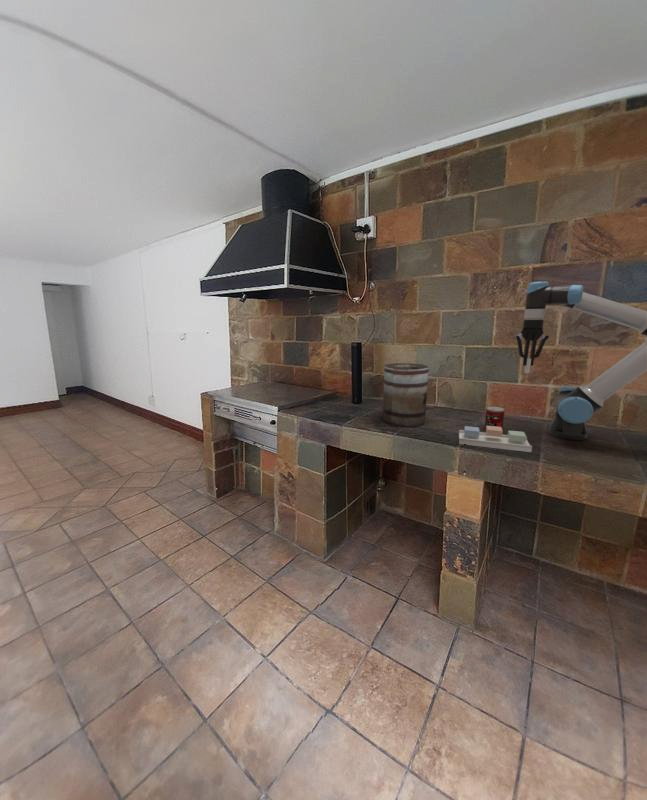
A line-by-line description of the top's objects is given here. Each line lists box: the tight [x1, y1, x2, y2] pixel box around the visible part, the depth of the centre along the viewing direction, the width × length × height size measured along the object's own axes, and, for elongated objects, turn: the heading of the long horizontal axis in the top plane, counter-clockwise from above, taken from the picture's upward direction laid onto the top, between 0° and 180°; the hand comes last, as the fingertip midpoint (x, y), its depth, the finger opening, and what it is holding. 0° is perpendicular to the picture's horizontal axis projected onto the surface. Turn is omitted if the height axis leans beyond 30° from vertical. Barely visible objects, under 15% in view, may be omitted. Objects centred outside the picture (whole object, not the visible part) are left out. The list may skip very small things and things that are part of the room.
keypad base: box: [458, 429, 533, 453], centre depth 150 cm, size 28×12×3 cm, turn 69°
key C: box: [463, 425, 481, 437], centre depth 152 cm, size 6×6×3 cm
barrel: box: [382, 362, 430, 429], centre depth 179 cm, size 22×22×30 cm
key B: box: [485, 426, 504, 437], centre depth 149 cm, size 6×6×3 cm
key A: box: [507, 430, 527, 442], centre depth 146 cm, size 6×6×3 cm
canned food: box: [484, 406, 506, 431], centre depth 166 cm, size 8×8×11 cm
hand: (526, 372), depth 152 cm, fingers closed
